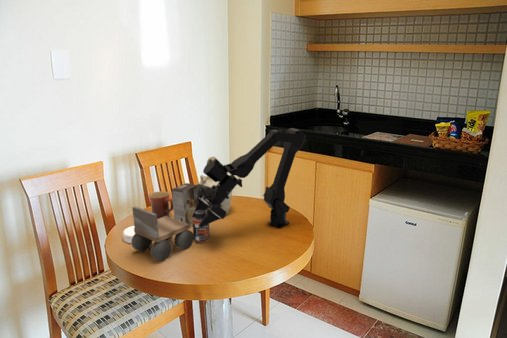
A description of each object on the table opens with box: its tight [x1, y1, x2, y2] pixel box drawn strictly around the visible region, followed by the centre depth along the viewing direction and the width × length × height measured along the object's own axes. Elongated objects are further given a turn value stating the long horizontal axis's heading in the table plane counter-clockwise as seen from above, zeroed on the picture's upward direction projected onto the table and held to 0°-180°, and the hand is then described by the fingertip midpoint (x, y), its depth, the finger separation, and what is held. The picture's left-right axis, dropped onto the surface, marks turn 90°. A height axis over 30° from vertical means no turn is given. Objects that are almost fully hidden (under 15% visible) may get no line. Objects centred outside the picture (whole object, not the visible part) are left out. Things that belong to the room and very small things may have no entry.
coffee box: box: [171, 182, 199, 228], centre depth 158 cm, size 9×6×16 cm
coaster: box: [122, 225, 135, 244], centre depth 148 cm, size 10×10×4 cm
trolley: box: [130, 206, 194, 262], centre depth 137 cm, size 17×13×17 cm
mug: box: [148, 190, 174, 219], centre depth 165 cm, size 12×9×10 cm
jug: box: [198, 156, 233, 215], centre depth 168 cm, size 15×16×25 cm
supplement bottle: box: [192, 210, 210, 244], centre depth 144 cm, size 6×6×11 cm
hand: (196, 222), depth 143 cm, fingers open, 9 cm apart
